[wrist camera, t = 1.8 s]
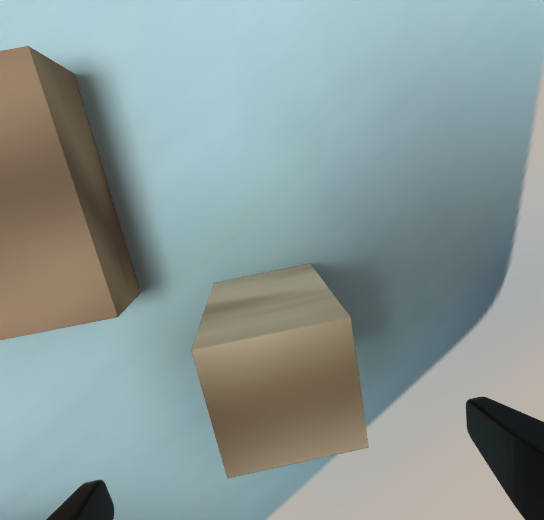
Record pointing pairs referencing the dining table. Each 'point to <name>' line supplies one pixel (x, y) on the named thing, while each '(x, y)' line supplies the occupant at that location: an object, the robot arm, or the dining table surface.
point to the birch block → (279, 371)
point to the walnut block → (54, 206)
